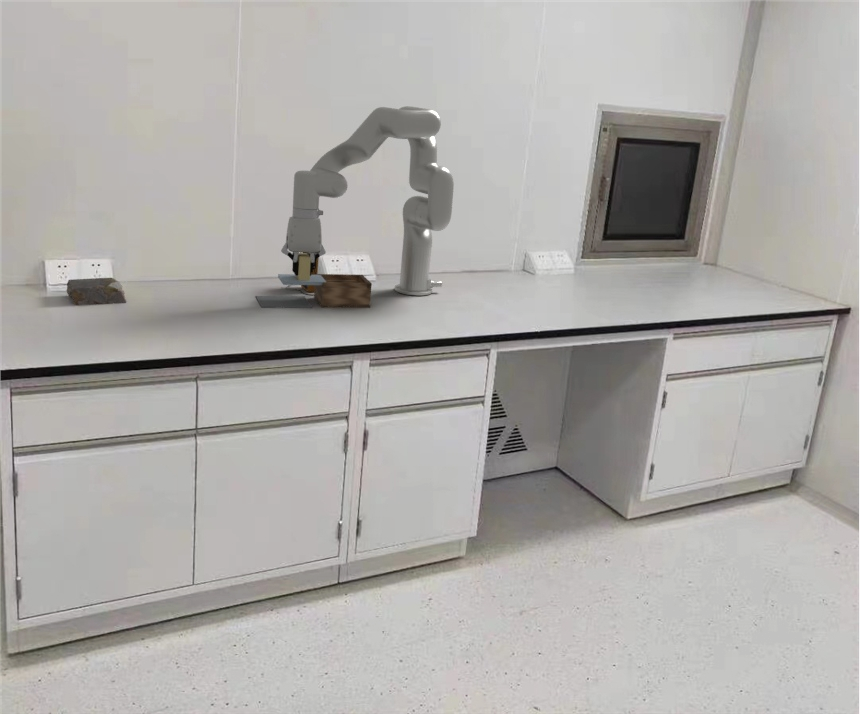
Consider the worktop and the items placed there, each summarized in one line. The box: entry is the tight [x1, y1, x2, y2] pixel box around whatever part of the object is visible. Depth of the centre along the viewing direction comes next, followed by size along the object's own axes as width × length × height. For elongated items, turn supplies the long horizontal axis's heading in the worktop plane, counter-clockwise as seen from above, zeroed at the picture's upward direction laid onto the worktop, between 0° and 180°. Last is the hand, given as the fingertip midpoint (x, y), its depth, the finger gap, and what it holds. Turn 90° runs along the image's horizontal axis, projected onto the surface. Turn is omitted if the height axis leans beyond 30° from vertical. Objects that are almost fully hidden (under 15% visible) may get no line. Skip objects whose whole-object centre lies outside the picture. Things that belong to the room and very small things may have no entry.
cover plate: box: [277, 252, 326, 286], centre depth 258 cm, size 13×9×8 cm
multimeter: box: [280, 252, 319, 296], centre depth 273 cm, size 15×10×20 cm
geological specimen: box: [66, 277, 127, 306], centre depth 243 cm, size 11×6×15 cm
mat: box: [255, 295, 313, 309], centre depth 260 cm, size 15×12×1 cm
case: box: [313, 273, 373, 309], centre depth 265 cm, size 15×11×8 cm
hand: (302, 274), depth 259 cm, fingers closed on cover plate, 3 cm apart
